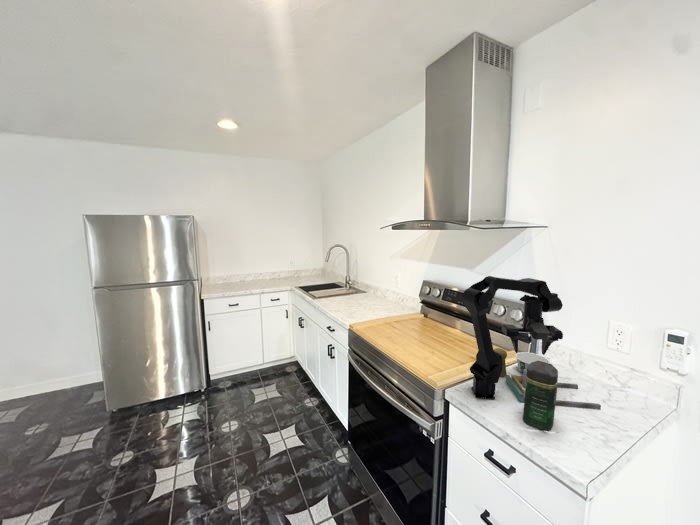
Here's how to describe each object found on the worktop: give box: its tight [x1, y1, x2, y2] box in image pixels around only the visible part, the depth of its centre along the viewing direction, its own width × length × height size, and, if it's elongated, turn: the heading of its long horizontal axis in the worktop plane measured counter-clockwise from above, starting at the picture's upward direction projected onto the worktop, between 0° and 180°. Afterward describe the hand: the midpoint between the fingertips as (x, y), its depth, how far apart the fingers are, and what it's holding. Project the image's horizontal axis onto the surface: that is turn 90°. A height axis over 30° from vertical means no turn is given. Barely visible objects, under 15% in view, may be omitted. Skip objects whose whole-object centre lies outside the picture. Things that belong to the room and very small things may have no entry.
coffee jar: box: [522, 361, 559, 432], centre depth 89 cm, size 10×8×19 cm
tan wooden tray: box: [510, 374, 525, 397], centre depth 104 cm, size 10×10×4 cm
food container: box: [515, 351, 551, 374], centre depth 119 cm, size 12×12×6 cm
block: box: [522, 369, 527, 389], centre depth 104 cm, size 4×4×7 cm
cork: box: [493, 347, 508, 378], centre depth 117 cm, size 6×6×11 cm
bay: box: [505, 374, 602, 410], centre depth 103 cm, size 26×16×4 cm, turn 81°
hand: (529, 353), depth 108 cm, fingers open, 9 cm apart
